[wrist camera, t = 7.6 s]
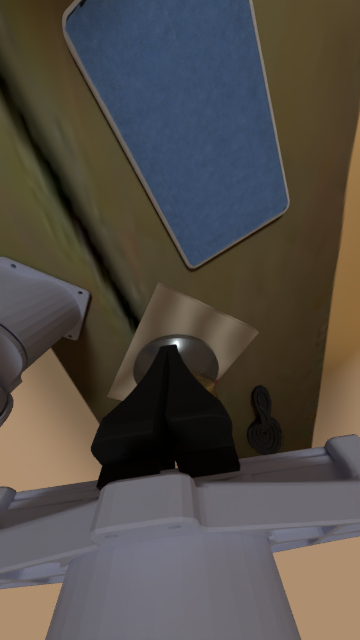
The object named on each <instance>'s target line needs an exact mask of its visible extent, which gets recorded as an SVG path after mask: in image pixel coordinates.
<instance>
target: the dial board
mask: <svg viewBox="0 0 360 640" xmlns="http://www.w3.org/2000/svg"><path fill="white" fill-rule="evenodd" d="M258 333H259V332H258V331H257V330H256V329H255V328H254V327H252V326H250V325H248V324H246V323H244V322H242V321H240V320H238V319H236V318H234V317H231V316H229V315H227V314H225V313H223V312H221V311H219V310H217V309H215V308H213V307H211V306H209V305H207V304H205V303H203V302H201V301H199V300H196V299H194V298H192V297H190V296H188V295H186V294H184V293H182V292H180V291H178V290H176V289H174V288H172V287H170V286H168V285H166V284H164V283H161V282H159V281H158V283H157V285H156V288H155V290H154V292H153V294H152V296H151V299H150V301H149V303H148V305H147V308H146V310H145V312H144V314H143V317H142V319H141V321H140V323H139V326H138V328H137V330H136V332H135V335H134V337H133V339H132V341H131V344H130V346H129V348H128V350H127V352H126V355H125V357H124V359H123V361H122V364H121V366H120V368H119V370H118V373H117V375H116V377H115V379H114V382H113V384H112V386H111V388H110V391H109V393H108V396H107V397H109V398H113V399H117V400H122V401H123V400H124V399H125V398H126V397H127V396H128V395H129V394H130V393H131V392H132V391H133V389H134V388H135V387H136V386H137V384H136V382H135V380H134V376H133V367H134V363H135V360H136V357H137V355H138V353H139V352H140V350H141V349H142V348H143V347H144V346H145V345H147V344H148V343H149V342H151V341H153V340H155V339H157V338H159V337H162V336H166V335H172V334H183V335H189V336H193V337H196V338H198V339H201V340H202V341H204V342H205V343H207V344H208V345H209V346H210V347H211V348H212V350H213V351H214V353H215V355H216V358H217V360H218V364H219V371H218V376H217V378H216V380H215V382H214V384H215V383H217V382H218V380H219V379H220V377H221V376H222V375H223V374H224V373H225V371H226V370H227V369H228V368H229V367H230V366H231V364H232V363H233V362H234V361H235V360H236V359H237V357H238V356H239V355H240V354H241V353H242V352H243V350H244V349H245V348H246V347H247V346H248V345H249V343H250V342H251V341H252V340H253V339H254V337H255V336H256V335H257V334H258Z"/></svg>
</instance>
